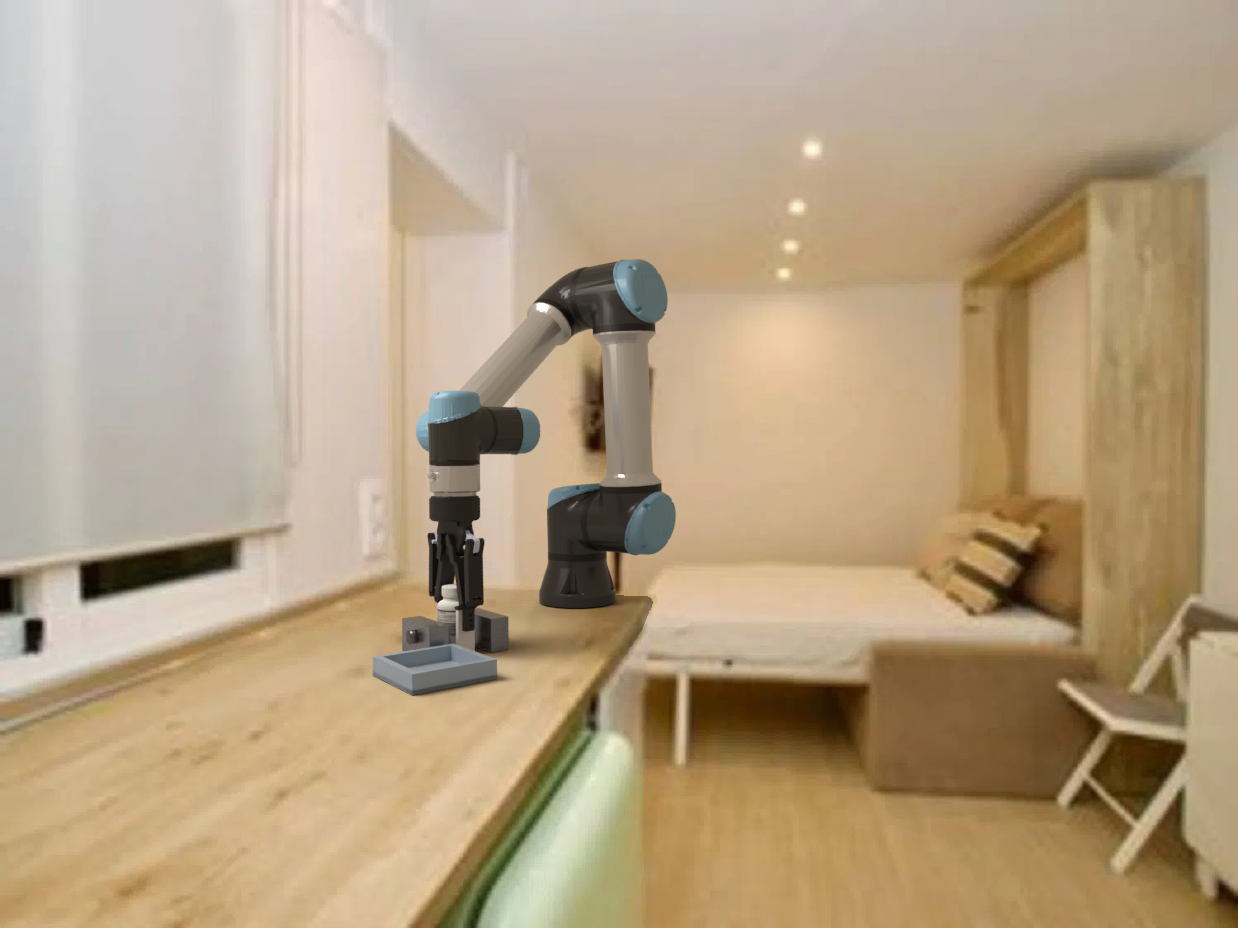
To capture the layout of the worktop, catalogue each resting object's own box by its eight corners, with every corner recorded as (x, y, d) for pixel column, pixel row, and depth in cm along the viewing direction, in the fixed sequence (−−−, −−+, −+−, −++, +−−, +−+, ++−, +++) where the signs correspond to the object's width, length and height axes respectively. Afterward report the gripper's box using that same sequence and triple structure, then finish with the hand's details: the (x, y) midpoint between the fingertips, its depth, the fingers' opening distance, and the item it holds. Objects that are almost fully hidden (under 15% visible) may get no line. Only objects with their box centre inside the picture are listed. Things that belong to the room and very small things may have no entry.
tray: (453, 661, 124) (453, 643, 124) (497, 678, 114) (496, 659, 114) (372, 675, 116) (372, 656, 116) (412, 695, 107) (412, 674, 107)
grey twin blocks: (484, 638, 139) (484, 607, 139) (514, 648, 132) (514, 615, 132) (395, 652, 129) (395, 618, 129) (423, 664, 122) (422, 628, 122)
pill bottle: (462, 644, 134) (462, 581, 134) (480, 651, 130) (480, 586, 130) (430, 650, 131) (430, 585, 131) (448, 656, 127) (447, 589, 127)
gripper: (404, 492, 135) (405, 641, 135) (462, 497, 121) (462, 664, 121) (448, 491, 140) (449, 635, 140) (508, 495, 125) (509, 656, 126)
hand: (455, 648), depth 130 cm, fingers closed on pill bottle, 5 cm apart
